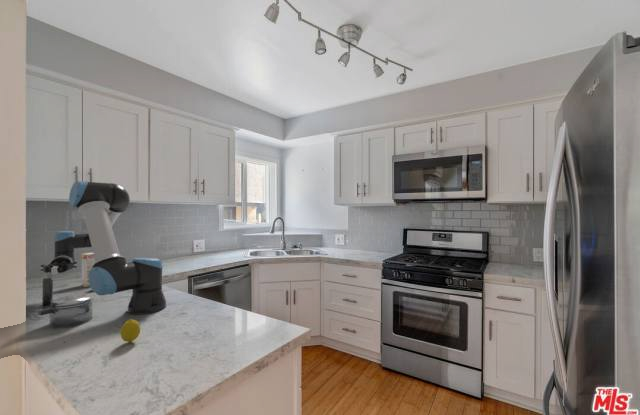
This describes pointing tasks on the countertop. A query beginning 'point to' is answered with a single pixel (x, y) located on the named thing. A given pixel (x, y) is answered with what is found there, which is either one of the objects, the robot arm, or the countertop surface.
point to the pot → (69, 315)
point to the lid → (63, 301)
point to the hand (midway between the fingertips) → (53, 271)
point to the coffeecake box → (87, 267)
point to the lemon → (130, 330)
